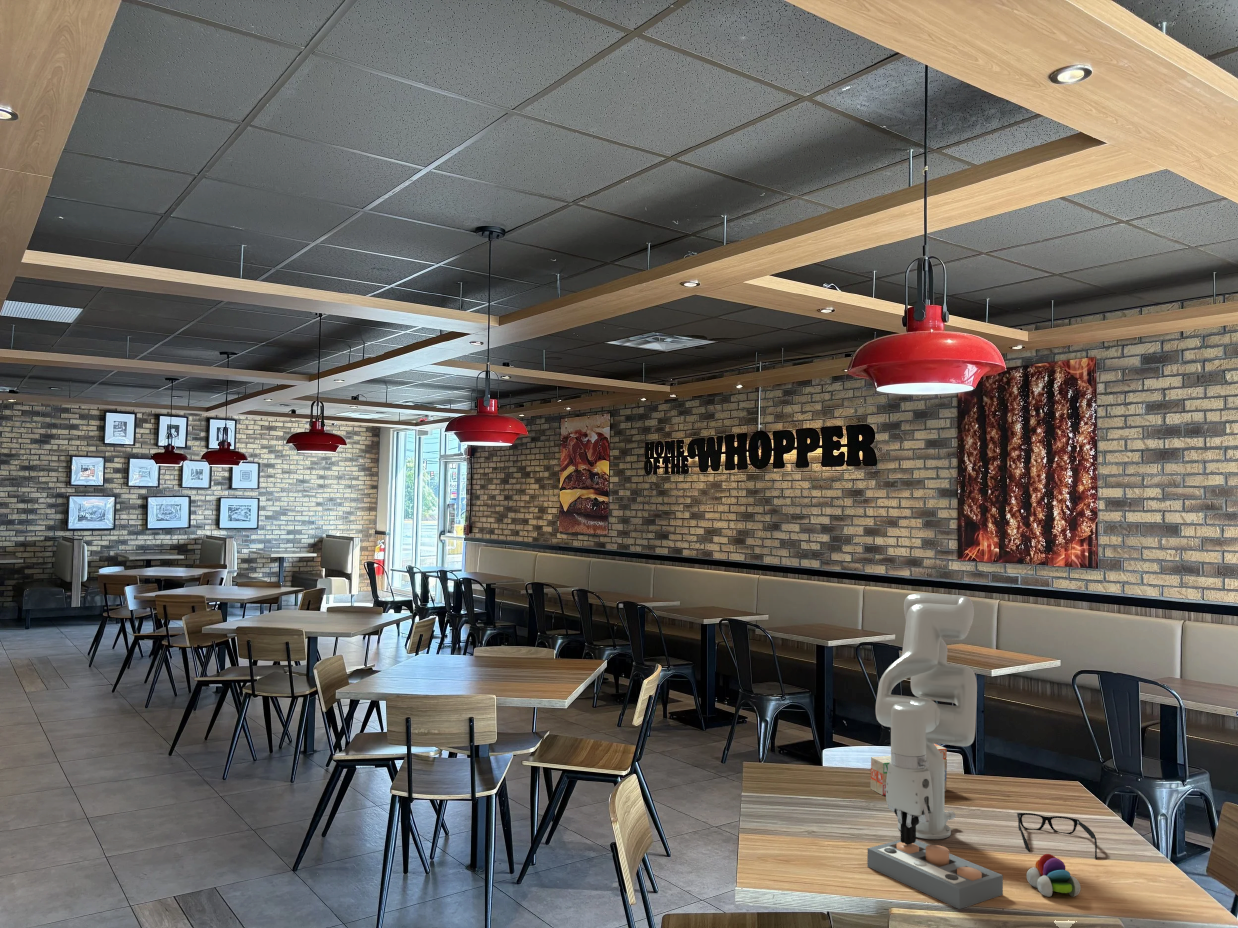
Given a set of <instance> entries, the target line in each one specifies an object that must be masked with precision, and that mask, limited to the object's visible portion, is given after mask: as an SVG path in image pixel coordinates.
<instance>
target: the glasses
mask: <svg viewBox="0 0 1238 928" xmlns="http://www.w3.org/2000/svg"><path fill="white" fill-rule="evenodd" d="M1016 815H1017V821H1018V822H1017V823H1018V825H1017V826H1018V831H1019V832H1020V833H1021V838H1022V842H1023V844H1024V847H1025V850H1026V852H1028V853H1030V852H1031V849H1030V845H1029V843H1028V841H1027V839H1026V835H1025V834H1024V832H1023V829H1024V830H1028V831H1029V830H1031V831H1041V830H1042V829H1043V828H1044V826H1046V825H1045V824H1046V823H1048V825H1049V827H1050V829H1051V830H1052V831H1053V832H1055V833H1058V834H1059V833H1060V834H1065V835H1071V834H1073V833H1075V832H1076V830H1077V827H1078V825H1079V826H1080V827H1081V828H1082V829H1083V830H1084V832H1085V833H1086V834H1088V836H1089V837H1090V838H1091V840H1092V839H1093V840H1094V859H1095V860H1096V861H1097V860H1098V851H1097V850H1098V842H1097V838H1096V837H1097V836H1096V835H1095V833H1094V832H1093V830H1092V829H1091V828H1090V827H1089V826H1087V825H1085V824H1084V823H1083V822H1081V820H1079V819H1077V818H1075V817H1074V818H1073V817H1068V816H1058V815H1057V816H1056V815H1055V816H1054V815H1053V816H1045V815H1042V814H1038V813H1032V812H1018V813H1016ZM1024 816H1034V817H1035V816H1036V817H1039V818H1040V819H1041V824H1040V826H1039V827H1038V828H1029V827H1026V826H1025V825H1024V823H1023V817H1024ZM1054 819H1064V820H1070V821H1072V823H1073V828H1072V831H1070V832H1069V831H1068V832H1062V831H1059V830H1057V829H1055V827H1054V826H1053V822H1052V821H1053V820H1054ZM1022 828H1023V829H1022Z"/></svg>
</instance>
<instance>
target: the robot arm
mask: <svg viewBox="0 0 1238 928" xmlns="http://www.w3.org/2000/svg"><path fill="white" fill-rule="evenodd" d="M973 603H974V602H973V601H972V600H971V598H970V597H969V596H966V595H959V594H958V595H957V594H945V593H944V594H943V593H942V594H941V593H929V592H928V593H927V592H926V593H925V592H920V593H911V594H909V595H907V597H905V598H904V602H903V613H904V618H905V628H904V635H903V642H902V643H903V644H902V652H901V656H900V657H899V658H897V659H896V660H895V661H894V662H893V663H892V662H891V664H890V665H889V666H888V668H887V669H886V670H885V671H884V672H883V674H882V675H881V678H880V679H879V683H878V688H877V694H876V701H875V717H876V721H878V723H879V724H880V725H881V726H884V727H886V728H887V727H888V728H890V756H891V762H890V763H889V767H888V772H887V780H886V795H885V800H886V804H887V809H888V810H890V811H891V812H893V813H894V814H895V816H896V818H897V828H898V830H900V840H901V842H902V843H905V844H906V845H908V844H912V843H915V842H916V840H917V838H919V839H925V840H944V839H947V838H949V837H950V836H951V835H952V829H951V827H950V826H949V825H947V822H948V821H949V820H953V819H954V820H955V818H956V813H955V812H954V811H953V810H948V811H945V791H944V770H945V767H944V759H943V757H942V755H941V753H940V752H939V750H938V749H937V747H936V746H935V745H934V744H936V745H939V744H941V745H948V746H949V745H950V746H954V747H955V746H956V747H969V746H971V745H972V744H973V743H974V741H975V737H976V721H977V702H978V701H977V698H978V693H977V692H978V683H977V676H976V673H975V672H974V670H973V669H972V668H971V667H969V666H966V665H962V664H956V663H955V664H952V663H947V662H948V651H949V650H948V646H947V643H946V641H945V640H944V639H947V640H960V641H961V640H964V639H965V638H967V636H968V634H969V632H970V629H971V627H972V625H973V621H974V617H975V608H974V604H973ZM908 678H909V679H910V690H911V692H912V694H913V695H914V696H907V695H901V694H900V695H898V694H892V692H893V691H892V690H893V689H894V688H895V687H896V685H897V684H899V683H900V682H902V681H904V680H906V679H908ZM935 701H938V702H945V703H953V704H955V705H950V704H942V703H941V704H940V703H937V702H935Z"/></svg>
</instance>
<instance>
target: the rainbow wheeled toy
mask: <svg viewBox="0 0 1238 928" xmlns="http://www.w3.org/2000/svg"><path fill="white" fill-rule="evenodd" d="M1066 869H1067V868H1066V865H1065V863H1064V861H1063V860H1062V859H1060V858H1057V857H1056V856H1055V855H1053V854H1050V853H1045V854H1042V855H1041V856H1040V858H1039V859H1037V861H1036V862H1035V866H1034V867H1030V868H1029V869H1028V870H1027V872H1026V880H1027V882H1028V883H1029V885H1030V886H1032V887H1033V888H1036V889H1037V890H1038V892H1039V893H1041V894H1042V895H1043V896H1044V897H1048V898H1049V897H1052V895H1053V892H1056V893H1061V894H1068V895H1069V896H1070V897H1073V898H1074V897H1076V896H1078V895H1079V894H1080V892H1081V883H1080V881H1079V880H1078V879H1077V878H1076V877H1075V876H1072V875H1071V873H1070V872H1069V871H1068V870H1066Z"/></svg>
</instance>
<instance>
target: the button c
mask: <svg viewBox="0 0 1238 928" xmlns="http://www.w3.org/2000/svg"><path fill="white" fill-rule="evenodd" d="M957 875H960V876H962V877H964V878H967V879H969V880H971V881H974V880H977V879H980V878H982V873H981V872H980V871H979V870H977V869H974V868H970V867H959V868H957Z"/></svg>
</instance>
